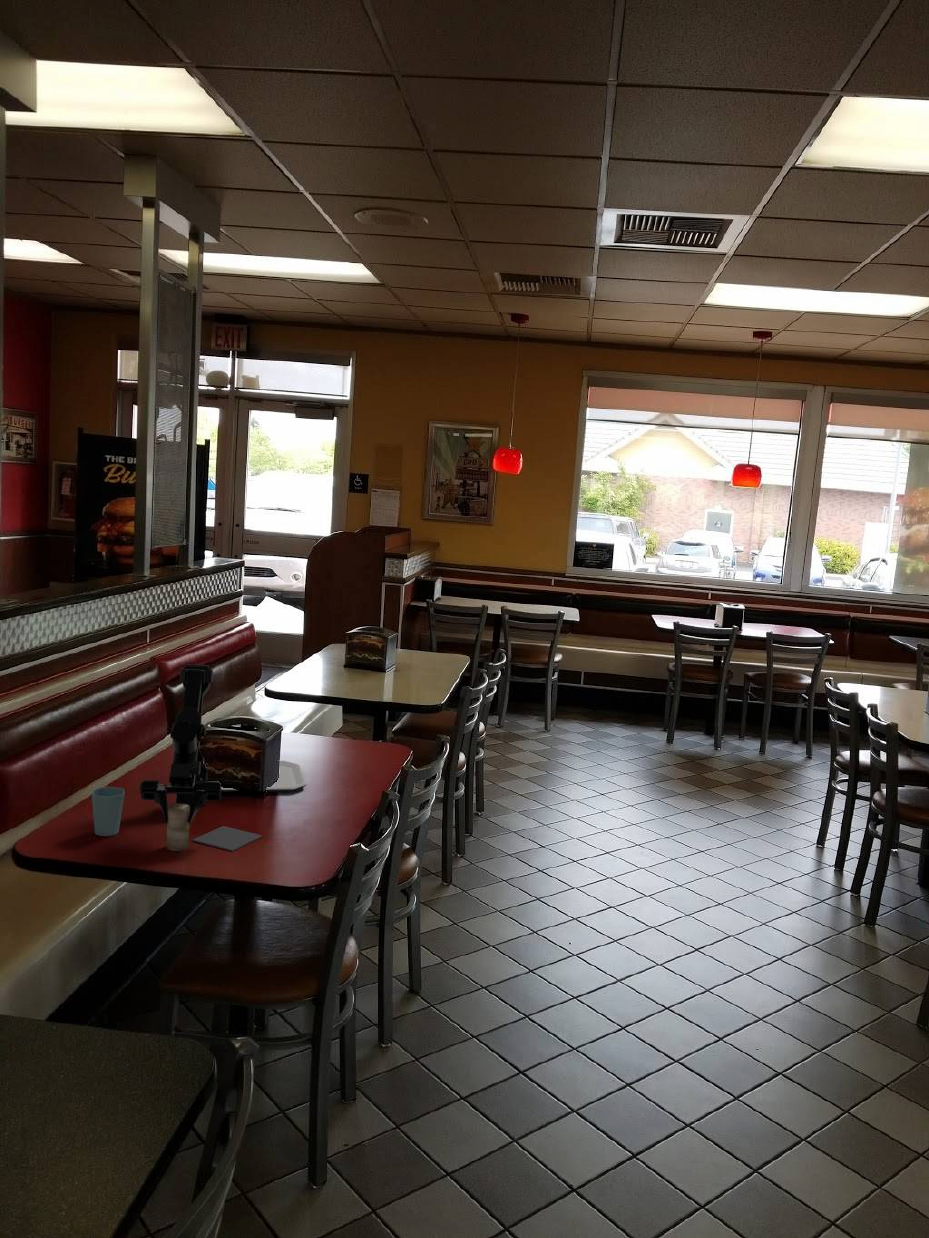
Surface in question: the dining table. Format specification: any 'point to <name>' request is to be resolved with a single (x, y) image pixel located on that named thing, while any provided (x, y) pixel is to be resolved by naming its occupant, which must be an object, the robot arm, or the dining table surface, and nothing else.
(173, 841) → the beige cylinder
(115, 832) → the cup
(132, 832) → the dining table surface
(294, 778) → the plate
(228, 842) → the placemat
